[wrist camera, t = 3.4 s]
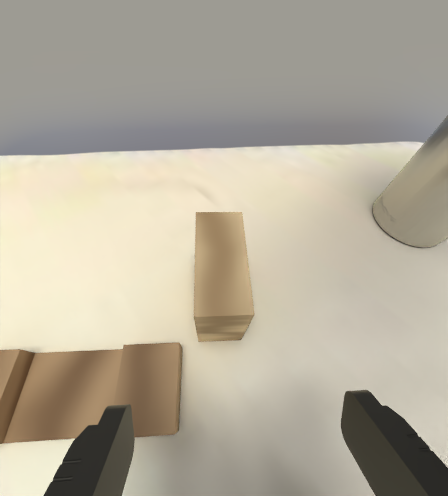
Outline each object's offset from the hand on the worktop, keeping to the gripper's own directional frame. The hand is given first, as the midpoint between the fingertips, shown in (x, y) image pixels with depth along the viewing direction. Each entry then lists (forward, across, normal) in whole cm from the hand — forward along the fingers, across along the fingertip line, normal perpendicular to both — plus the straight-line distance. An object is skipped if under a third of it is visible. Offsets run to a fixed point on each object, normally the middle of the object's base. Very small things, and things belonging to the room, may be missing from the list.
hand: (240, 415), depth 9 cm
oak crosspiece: (+16, 0, +2) cm, 16 cm away
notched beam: (+10, +12, +8) cm, 18 cm away
